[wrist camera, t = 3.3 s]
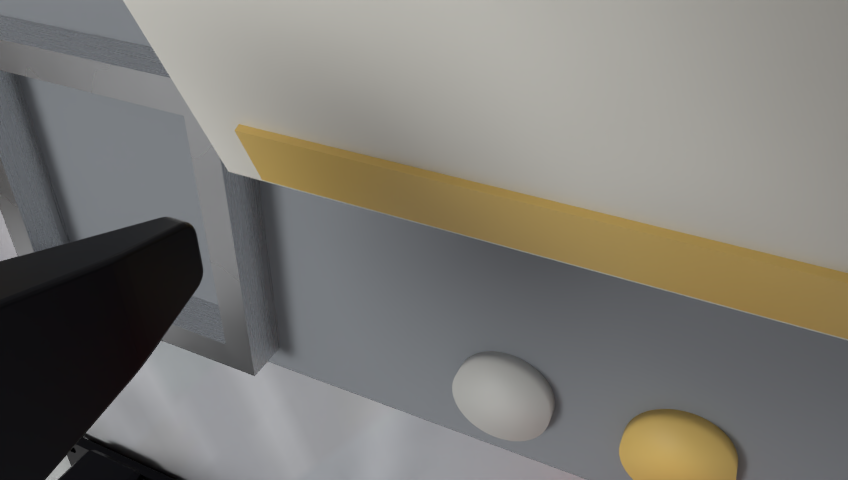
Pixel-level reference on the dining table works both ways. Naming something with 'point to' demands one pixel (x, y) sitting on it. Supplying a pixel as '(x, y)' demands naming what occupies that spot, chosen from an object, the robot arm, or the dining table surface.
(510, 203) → the yellow-striped white slab
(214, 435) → the dining table surface
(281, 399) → the dining table surface
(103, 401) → the robot arm
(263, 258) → the socket
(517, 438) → the panel
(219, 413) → the dining table surface
